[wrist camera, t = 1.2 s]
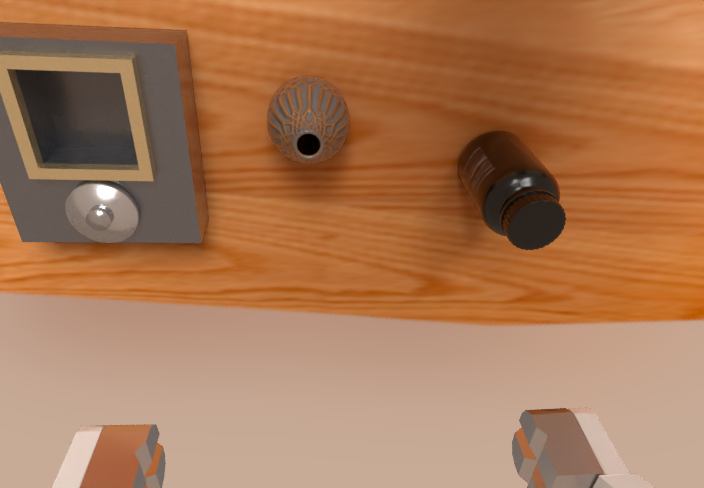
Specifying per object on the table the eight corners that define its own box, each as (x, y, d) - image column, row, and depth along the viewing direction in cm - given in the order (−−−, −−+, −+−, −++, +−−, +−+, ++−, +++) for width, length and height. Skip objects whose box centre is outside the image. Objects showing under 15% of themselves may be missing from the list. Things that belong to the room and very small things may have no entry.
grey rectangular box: (-22, 21, 41) (-70, 40, 35) (186, 30, 42) (169, 50, 37) (43, 216, 51) (13, 253, 46) (208, 218, 52) (197, 254, 47)
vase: (359, 121, 47) (368, 163, 40) (293, 153, 49) (291, 199, 42) (325, 52, 44) (328, 84, 37) (255, 88, 45) (244, 126, 38)
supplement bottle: (474, 203, 53) (512, 274, 43) (445, 153, 50) (478, 218, 40) (536, 168, 51) (590, 234, 42) (510, 114, 48) (561, 172, 38)
